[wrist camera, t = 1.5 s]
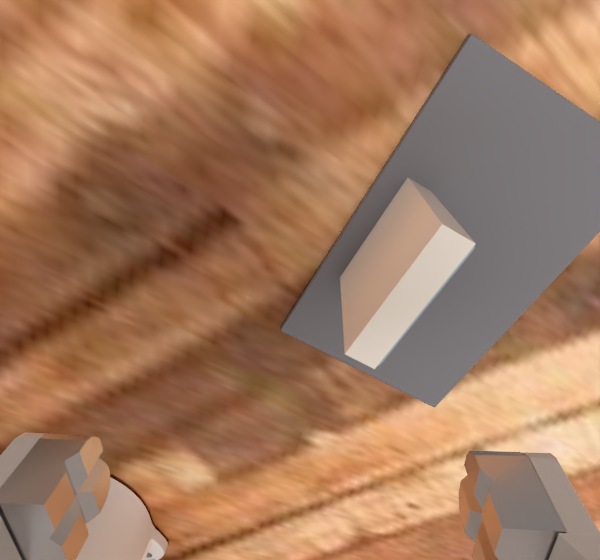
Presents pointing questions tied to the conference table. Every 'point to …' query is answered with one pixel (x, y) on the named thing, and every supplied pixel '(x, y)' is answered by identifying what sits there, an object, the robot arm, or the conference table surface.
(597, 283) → the conference table surface
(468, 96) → the mat
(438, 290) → the tile
